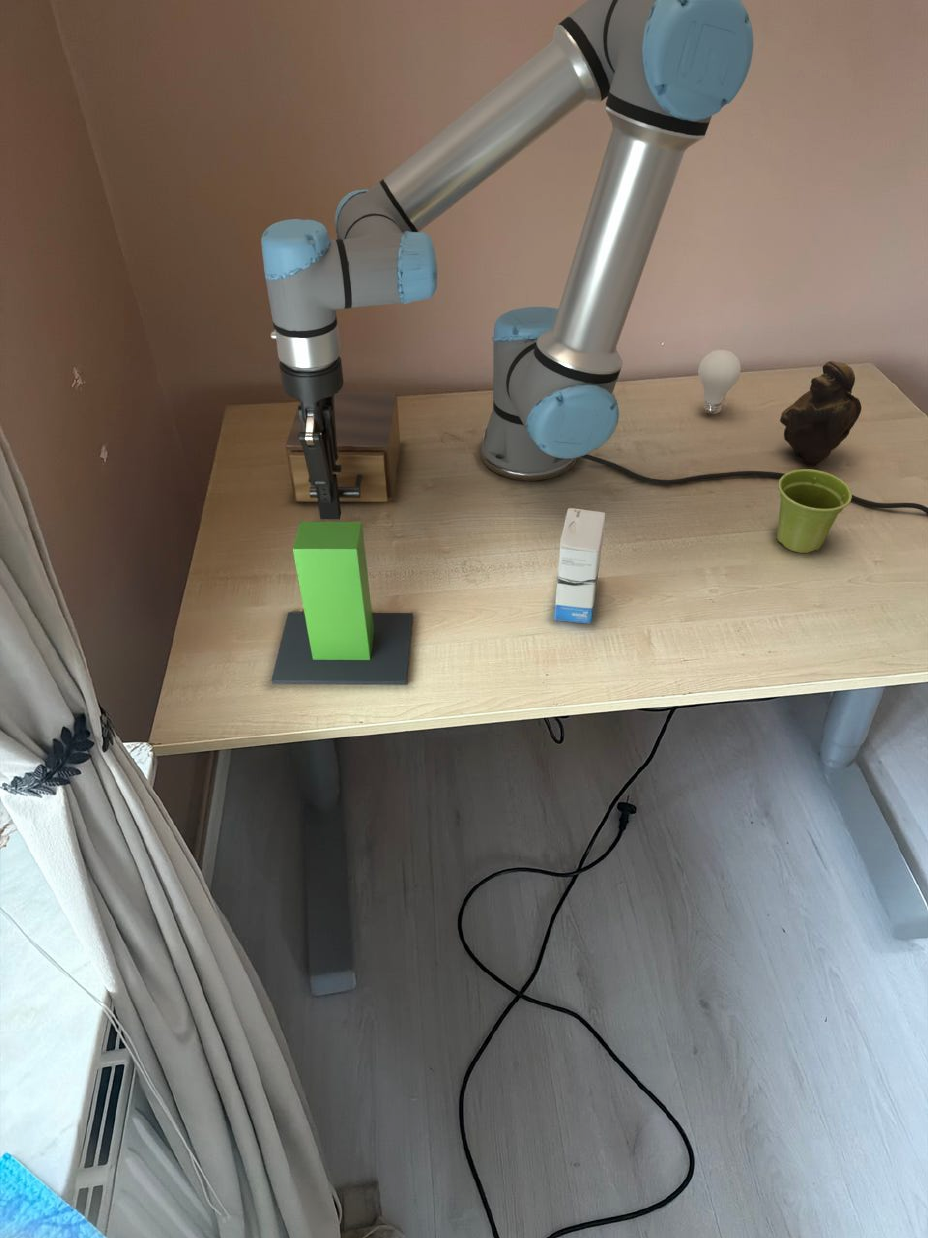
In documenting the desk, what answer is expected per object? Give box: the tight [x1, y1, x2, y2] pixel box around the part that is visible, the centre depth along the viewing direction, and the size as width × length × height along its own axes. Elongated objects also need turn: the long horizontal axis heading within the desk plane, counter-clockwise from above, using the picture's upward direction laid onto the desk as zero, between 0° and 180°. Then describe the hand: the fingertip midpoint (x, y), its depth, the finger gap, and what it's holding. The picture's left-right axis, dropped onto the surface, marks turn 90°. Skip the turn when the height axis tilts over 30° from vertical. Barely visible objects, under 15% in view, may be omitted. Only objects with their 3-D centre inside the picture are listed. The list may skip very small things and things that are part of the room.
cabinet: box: [285, 391, 401, 503], centre depth 136 cm, size 16×15×10 cm
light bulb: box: [697, 349, 742, 415], centre depth 147 cm, size 7×7×11 cm
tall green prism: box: [292, 521, 374, 660], centre depth 104 cm, size 7×5×17 cm
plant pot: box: [776, 468, 853, 554], centre depth 122 cm, size 9×9×9 cm
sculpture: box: [779, 360, 862, 467], centre depth 135 cm, size 11×11×15 cm
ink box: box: [553, 507, 606, 625], centre depth 112 cm, size 8×5×12 cm, turn 168°
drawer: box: [289, 451, 388, 502], centre depth 133 cm, size 19×13×8 cm
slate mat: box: [270, 611, 414, 686], centre depth 110 cm, size 16×12×1 cm
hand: (330, 516), depth 125 cm, fingers closed
